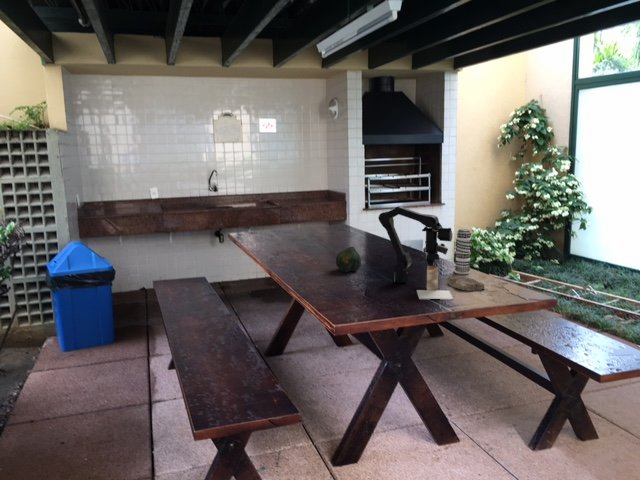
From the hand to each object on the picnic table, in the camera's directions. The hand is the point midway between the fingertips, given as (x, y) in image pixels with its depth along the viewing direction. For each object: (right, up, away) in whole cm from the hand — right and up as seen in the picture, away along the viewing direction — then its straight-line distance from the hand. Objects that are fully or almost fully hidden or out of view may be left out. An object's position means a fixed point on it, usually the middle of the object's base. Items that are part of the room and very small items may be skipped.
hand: (430, 269), depth 277 cm
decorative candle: (+24, -3, +28) cm, 37 cm away
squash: (-41, -3, +35) cm, 54 cm away
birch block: (-1, -10, -7) cm, 12 cm away
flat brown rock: (+17, -9, -1) cm, 19 cm away
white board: (-2, -12, -17) cm, 21 cm away
